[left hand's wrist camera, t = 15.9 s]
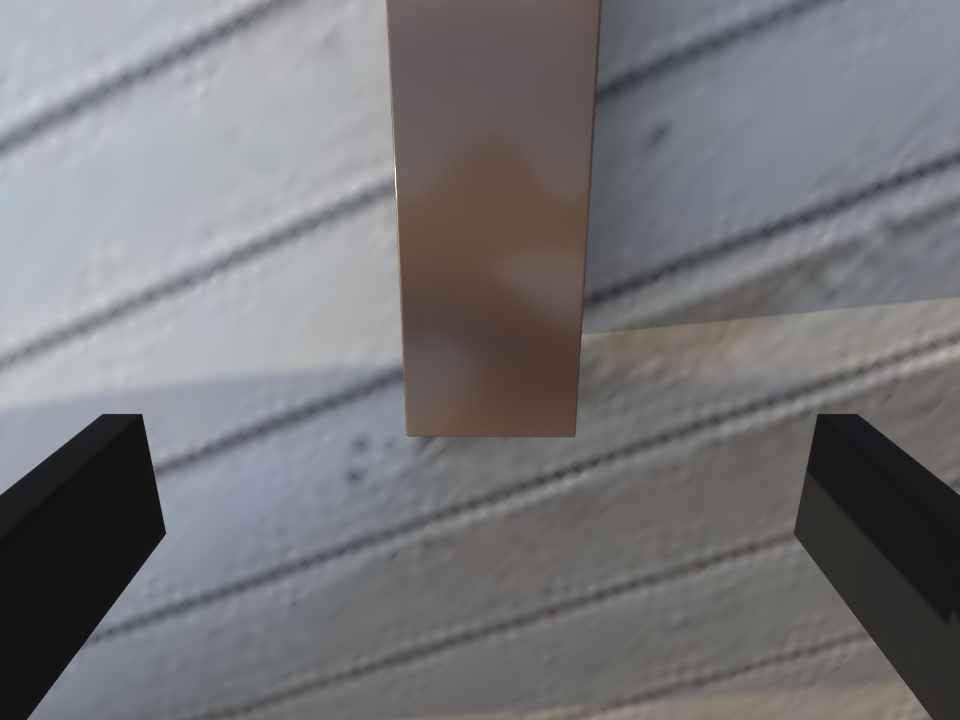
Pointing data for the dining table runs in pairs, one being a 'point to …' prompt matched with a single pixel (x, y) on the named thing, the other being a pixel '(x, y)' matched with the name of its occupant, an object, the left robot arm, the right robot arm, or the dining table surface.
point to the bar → (492, 209)
